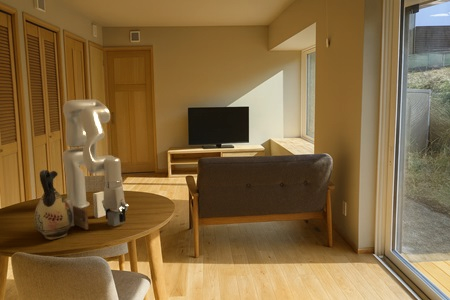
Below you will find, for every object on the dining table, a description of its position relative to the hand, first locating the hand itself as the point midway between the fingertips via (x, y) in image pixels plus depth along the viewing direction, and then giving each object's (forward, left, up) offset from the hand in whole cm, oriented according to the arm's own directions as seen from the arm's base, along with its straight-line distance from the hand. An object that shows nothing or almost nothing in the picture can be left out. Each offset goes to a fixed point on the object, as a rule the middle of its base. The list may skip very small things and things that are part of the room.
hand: (115, 220), depth 203 cm
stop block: (0, 0, -2) cm, 2 cm away
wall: (-16, -5, -2) cm, 17 cm away
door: (-11, -13, -1) cm, 17 cm away
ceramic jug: (-10, -26, -2) cm, 28 cm away
